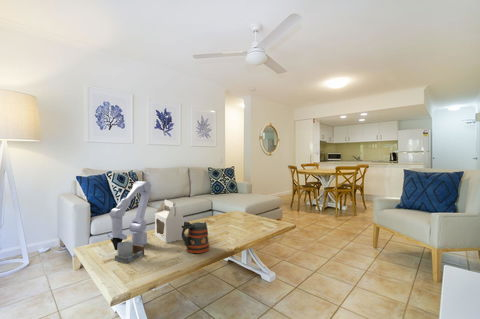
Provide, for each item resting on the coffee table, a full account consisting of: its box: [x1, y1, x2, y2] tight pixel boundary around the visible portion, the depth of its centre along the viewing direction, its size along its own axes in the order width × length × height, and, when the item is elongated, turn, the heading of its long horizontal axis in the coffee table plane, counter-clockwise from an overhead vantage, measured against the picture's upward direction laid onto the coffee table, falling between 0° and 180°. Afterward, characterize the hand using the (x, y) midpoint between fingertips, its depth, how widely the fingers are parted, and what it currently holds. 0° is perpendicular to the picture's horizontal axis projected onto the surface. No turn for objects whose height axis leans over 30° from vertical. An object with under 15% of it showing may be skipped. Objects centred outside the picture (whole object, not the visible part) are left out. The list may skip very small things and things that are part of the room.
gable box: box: [154, 199, 184, 244], centre depth 172 cm, size 22×13×28 cm, turn 40°
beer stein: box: [182, 221, 210, 254], centre depth 147 cm, size 19×15×20 cm
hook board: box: [114, 244, 145, 264], centre depth 137 cm, size 13×21×5 cm, turn 67°
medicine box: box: [116, 240, 134, 258], centre depth 136 cm, size 8×4×9 cm, turn 125°
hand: (117, 249), depth 139 cm, fingers closed
